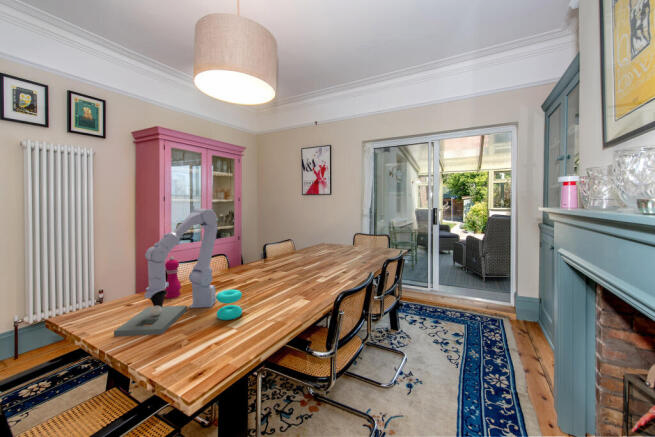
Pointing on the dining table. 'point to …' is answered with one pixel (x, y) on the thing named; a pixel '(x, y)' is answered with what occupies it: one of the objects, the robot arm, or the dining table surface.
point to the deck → (151, 322)
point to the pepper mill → (172, 279)
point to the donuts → (229, 310)
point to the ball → (155, 310)
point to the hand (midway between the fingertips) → (158, 309)
